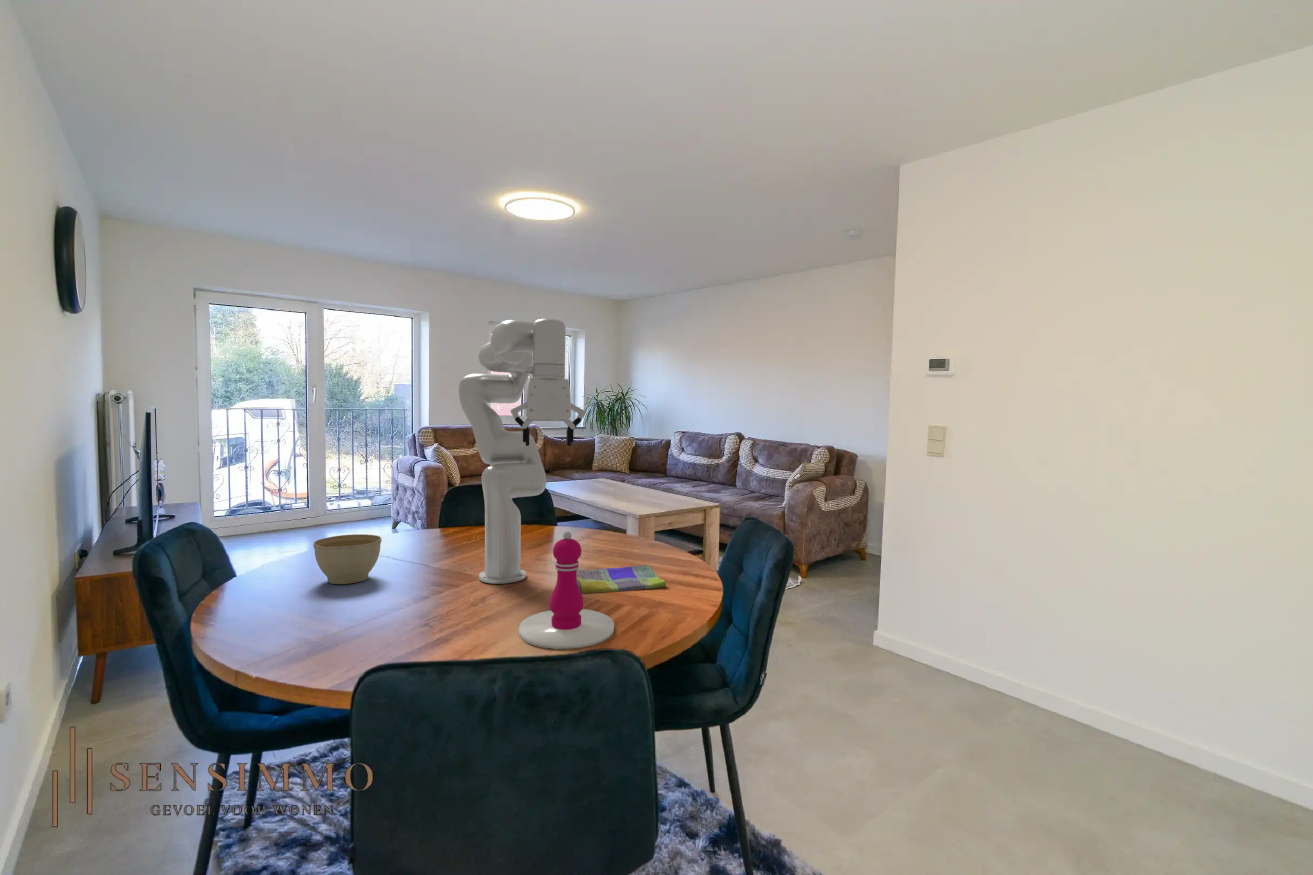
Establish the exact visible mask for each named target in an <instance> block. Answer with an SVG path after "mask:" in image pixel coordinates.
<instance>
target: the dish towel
mask: <svg viewBox="0 0 1313 875" xmlns="http://www.w3.org/2000/svg"><path fill="white" fill-rule="evenodd" d="M576 577H577V584H578V587H579V589H580V592H581V594H587V593H589V594H592V593H593V594H594V593H612V592H613V593H615V592H629V591H641V590H642V589H644V590H654V589H659V588H664V587H666V586H667V582H666V580H664V579H661V578H660V577H659V575H658V574H656V571H654V570H653V569H652V568H651V566H650V565H645V564H643V565H632V566H623V567H616V568H615V567H612V568H610V567H608V568H592V569H589V568H588V569H581V568H578V569H577V574H576Z"/></svg>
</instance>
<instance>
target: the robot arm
mask: <svg viewBox="0 0 1313 875" xmlns="http://www.w3.org/2000/svg"><path fill="white" fill-rule="evenodd" d="M566 332H567V331H566V325H565V323H564V321H562V320H560V319H554V318H541V319H536V320H535V321H529V320H518V319H517V320H515V319H508V320H504V321H501V322H500V323H498V324H496V325H495V326H494V327H493V329H492V332H491V335H490V341H489V342H487V343H486V344H484V345H483V346H482V347H481V348H480V350H479V352H478V360H479V363H480V365H481V366H482V367H483V368H484V369H486V370H487V371H491V372H494V373H471V374H468V375H467V374H466V376H464V377H462V379H461V380H460V381H459V384H458V397H459V403H460V405H461V409H462V411H463V413H464V415H465V417H466V418H467V420H468V422H469V424H470V426H471V428H472V432H473V436H474V439H475V444H476V446H477V450H478V453H479V456H480V459H481V461H482V462H483V463H484V464H486V465H489V466H487V467H485V469H484V470H483V472H482V474H481V486H482V492H483V499H484V570H483V571H482V572H480V573H479V574H478V580H479V581H481V582H483V583H487V584H492V585H493V584H494V585H495V584H496V585H500V584H503V585H504V584H511V583H512V584H513V583H516V582H519V581H522V580H524V579H525V578H526V577H527V571H525V570H524V569H523V568H521V554H522V553H521V547H522V546H521V542H522V540H521V536H522V535H521V533H522V532H521V531H522V530H521V529H522V527H521V526H522V525H521V524H522V522H521V521H522V520H521V519H522V517H521V516H522V515H521V511H520V509H519V508H518V506H517V505H516V504H515V503H514V501H513V499H515V498H516V499H517V498H525V497H533V496H534V497H535V496H539V495H541V494H542V493H543V492H544V491H545V490H546V487H547V475H546V471H545V468H544V465H543V462H542V459H541V456H540V452H539V449H538V446H537V444H536V441H535V439H534V437H533V436H532V435H531V434H530V428H529V426H530V425H531V424H532V422H533V421H535V422H564V423H565V425H566V426H567V428H566V446H568V447H571V445H572V443H574V429H576V427H577V426H578V425H580V423H581V422H582V420H583V418H584V416H585V415H586V410H585V409H583V408H580V407H579V406H577V405H575V404H573V403H572V402H571V400H572V398H571V388H570V381H569V378H566ZM496 373H507V374H496ZM508 373H509V374H508ZM529 375H532V377H530V378H529ZM528 378H529V380H528ZM527 382H528V385H527V393H526V394H527V395H526V402H524V403H522V404H519V405H518V406H516V407H514V408H511V409H510V413H511V415H512V417H513V419H514V421H515V422H516V423H517V424H518V425H519V426H520V427H521V428H522V431H519V430H518V431H517V430H516V431H513V430H512V431H510V430H506V429H505V426H504V424H503V419H502V418H501V416H500V414H498V413H497V412H496V411H495V410H494V409H493V408H492V407H491V406H489V405H488V404H515V403H516V402H517V403H518V402H519V400H520V399H521V398H522V395H523V392H524V389H525V387H526V383H527ZM523 410H526V417H527V418H526V419H525V420H524V421H523V419H522V418H521V417H520V415H519V412H521V411H523ZM572 411H573V412H575V413H577V416H576V418H575V419H574V420H573V421H572V420H571V415H572Z"/></svg>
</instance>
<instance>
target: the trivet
mask: <svg viewBox="0 0 1313 875" xmlns="http://www.w3.org/2000/svg"><path fill="white" fill-rule="evenodd" d="M579 614H580V615H581V625H580V626H579V627H577V628H574V629H569V630H562V629H556V628H554V627H553V626H552V616H553V615H554V613H553V612H552V611H551V610H545V611H541V612H538V613H535V614H531V615H529V616H528V617H525V619H523V620H522V621H521V622H520V623H519V626H518V635H519V637H520V639H521V640H522V641H524V642H525V643H526V644H529V645H530V646H531V645H532V646H534V647H537V648H541V647H543V648H542V649H548V648H553V649H552V650H574V649H573V648H576V649H583V648H587V647H592V646H595V645H598V644H601V643H603V642H605V641H607V640H608V639H609V638H611V637H612V636H613V635H614V632H615V623H614V620H613V619H612V618H611V616H609V615H607V614H604V613H602V612H600V611H596V610H591V609H585V608H583V609H582V610H581V612H580V613H579ZM555 648H557V649H555ZM569 648H571V649H569Z"/></svg>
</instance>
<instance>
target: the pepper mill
mask: <svg viewBox="0 0 1313 875" xmlns="http://www.w3.org/2000/svg"><path fill="white" fill-rule="evenodd" d="M562 537H563V538H561V539H559V540H558V541H556V542H555V544H554V545H553V547H552V548H553V549H552V554H553V557H554V559H555V560H556V561H555V562H554V566H555V567H554V569H555V570H556V574H557V576H556V577H557V578H556V584H555V586H554V589H553V591H552V594H551V596H550V600H549V606H548V607H549V609H550V610H551V611H552V612H553V613H554V615H553V616H552V626H553V627H554V628H556V629H562V630H569V629H574V628H577V627H579V626H580V625H581V615H580V614H579V613H580V612H581V610H582V609H584V605H585V604H584V597H583V593H581V592H580V589H579V587H578V584H577V577H576V574H577V569H580V566H579V565H580V562H579V558H581V555H582V546H581V544H580V543H579V542H578V541H577V540H576V539H575V538H574V539H573V538H572V533H571V532H570V531H564V533H563V535H562ZM550 610H549V611H550Z"/></svg>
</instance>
